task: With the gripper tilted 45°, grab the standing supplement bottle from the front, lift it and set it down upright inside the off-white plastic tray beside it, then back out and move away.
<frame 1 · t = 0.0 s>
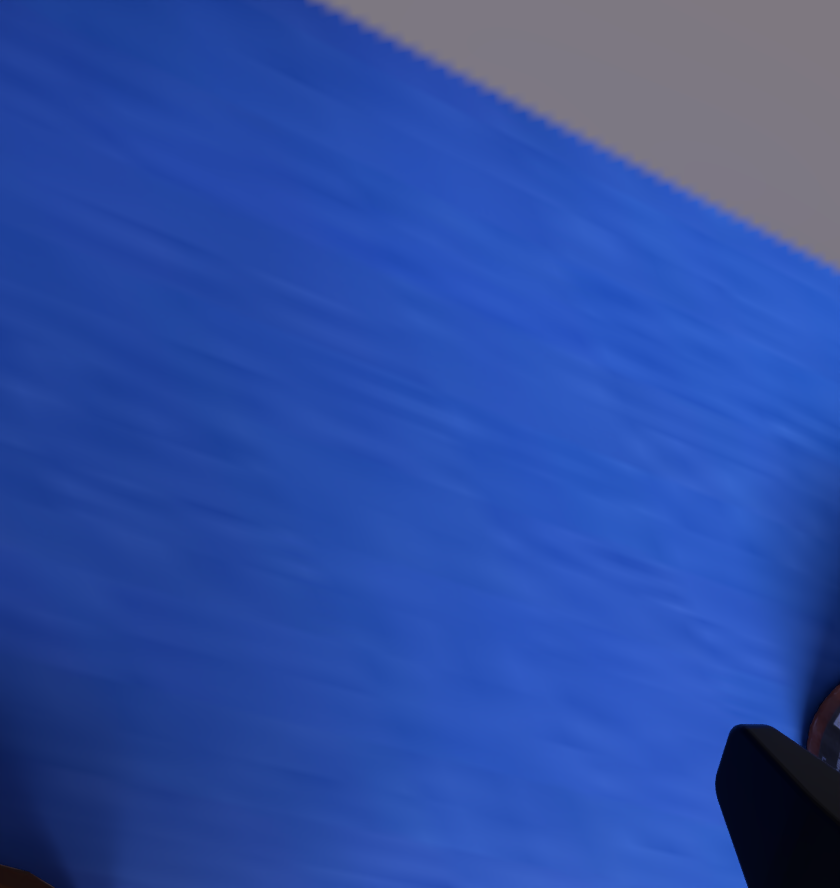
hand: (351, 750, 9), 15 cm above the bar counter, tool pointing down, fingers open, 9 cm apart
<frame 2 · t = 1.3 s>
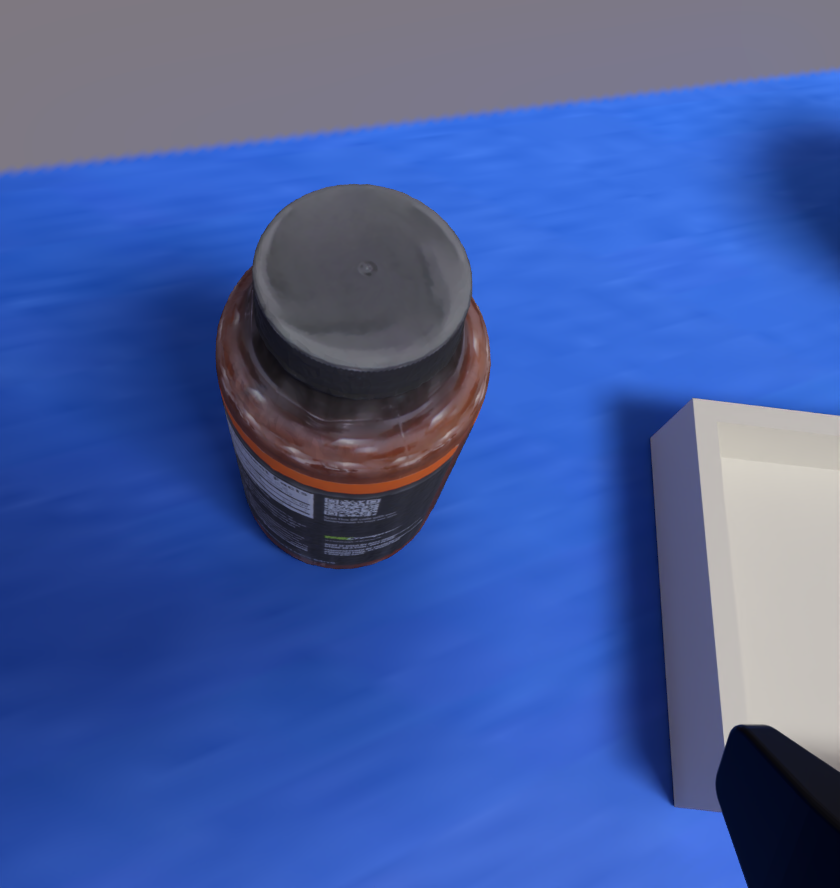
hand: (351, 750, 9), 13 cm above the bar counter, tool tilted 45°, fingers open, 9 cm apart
tray: (831, 620, 24), on the bar counter
supplement bottle: (340, 483, 24), on the bar counter
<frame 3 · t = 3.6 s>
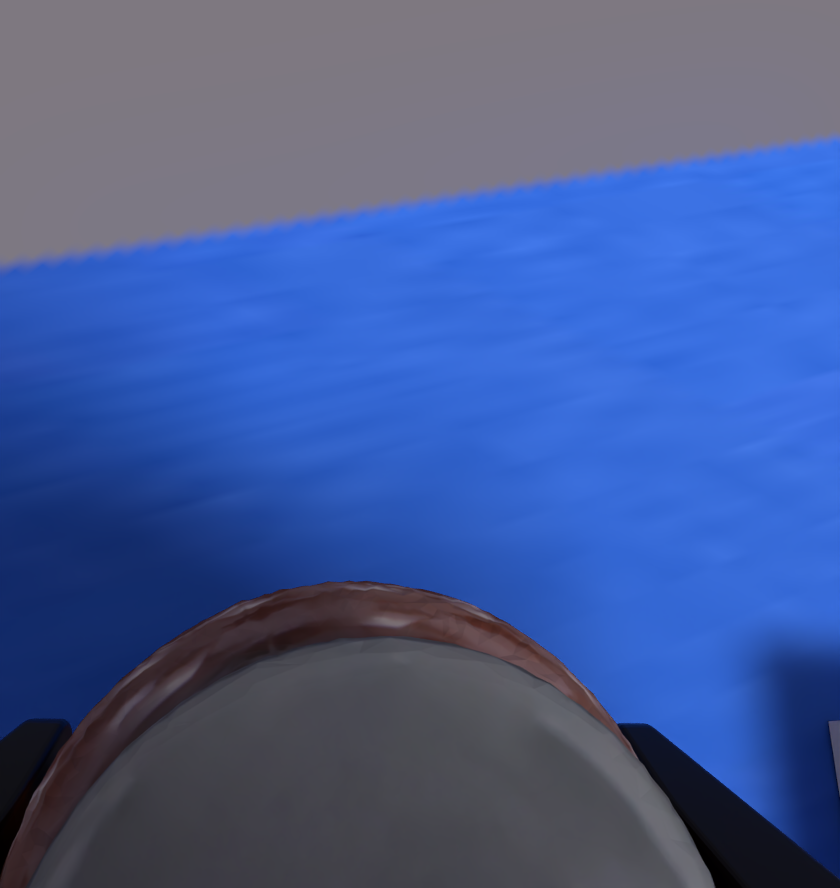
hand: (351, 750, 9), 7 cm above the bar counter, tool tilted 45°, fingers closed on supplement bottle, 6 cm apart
supplement bottle: (328, 840, 14), on the bar counter, touching gripper
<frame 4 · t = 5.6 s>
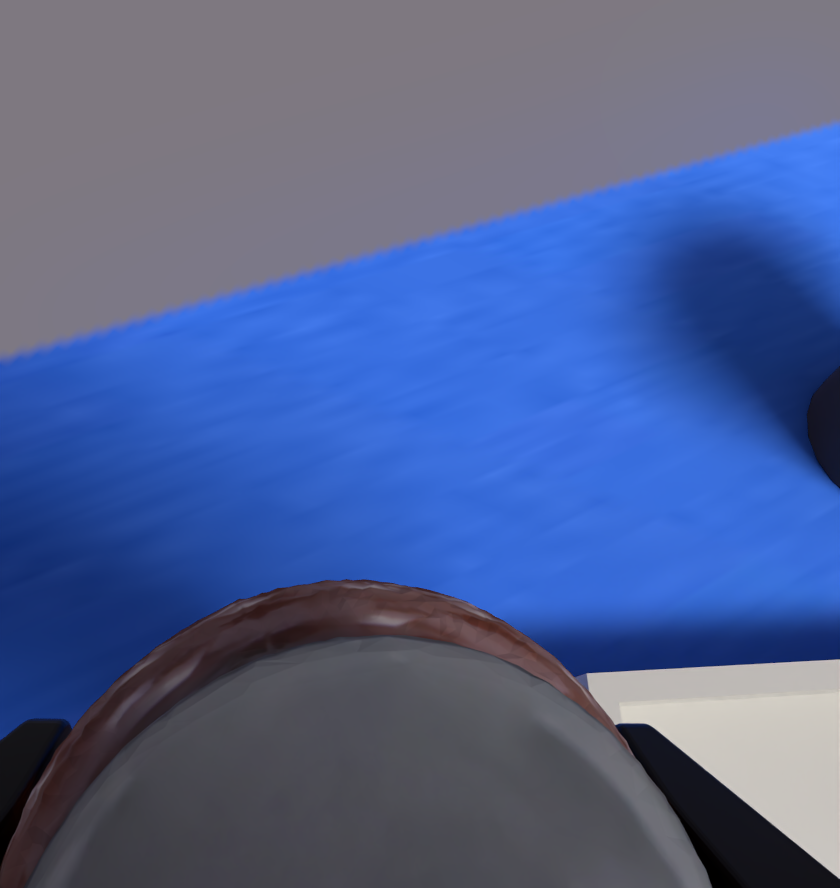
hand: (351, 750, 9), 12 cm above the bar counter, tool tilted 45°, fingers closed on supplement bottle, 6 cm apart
supplement bottle: (325, 838, 14), point 5 cm above the bar counter, touching gripper
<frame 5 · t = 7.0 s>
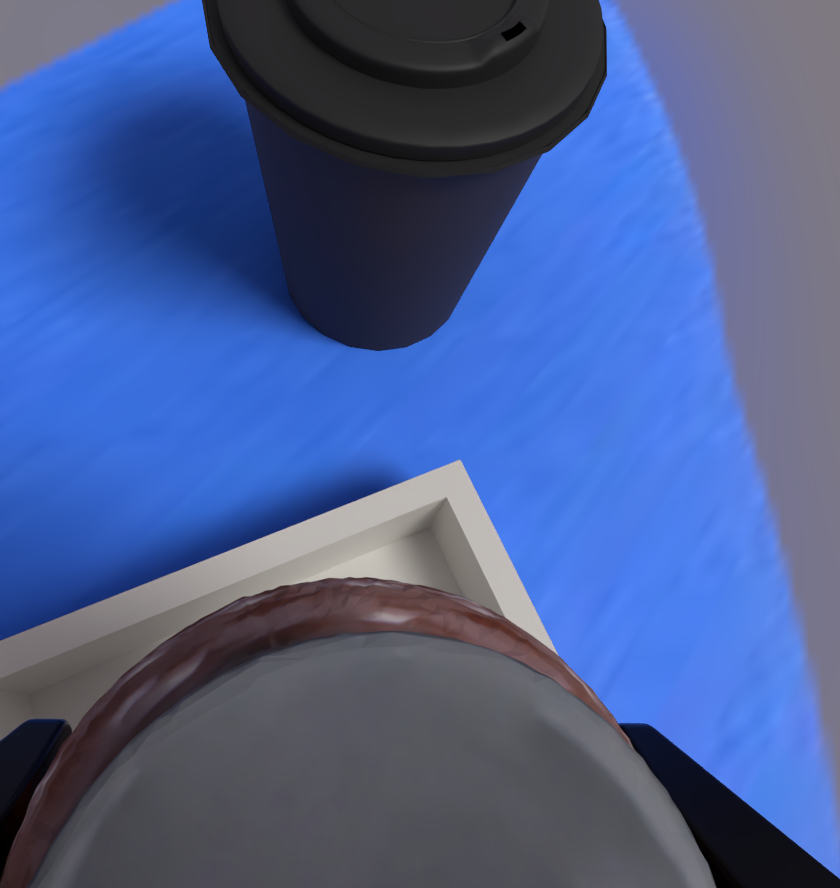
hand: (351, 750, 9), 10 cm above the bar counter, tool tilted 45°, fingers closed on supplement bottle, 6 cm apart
tray: (322, 811, 18), on the bar counter
supplement bottle: (327, 836, 14), point 3 cm above the bar counter, touching gripper
coffee cup: (373, 277, 23), on the bar counter
when the fingers open (8 cm above the bar counter, at t = 7.8 s): supplement bottle drops 1 cm, resting on tray.
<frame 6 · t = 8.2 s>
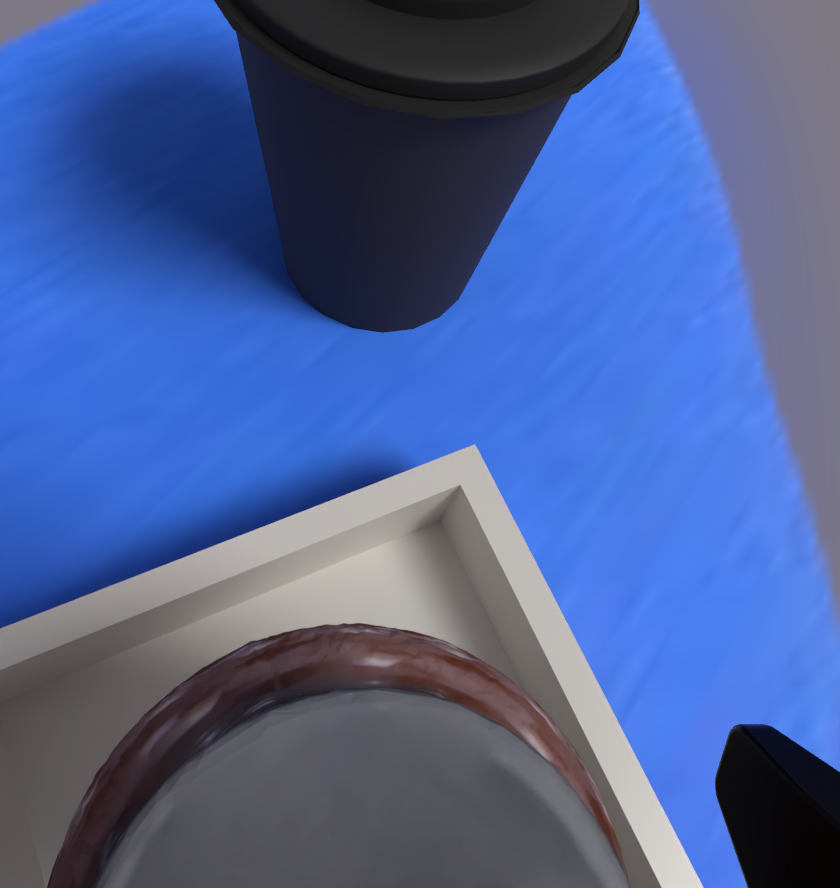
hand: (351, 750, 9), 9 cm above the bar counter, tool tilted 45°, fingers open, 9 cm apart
tray: (324, 832, 16), on the bar counter
supplement bottle: (326, 844, 15), resting on tray
coffee cup: (378, 255, 22), on the bar counter
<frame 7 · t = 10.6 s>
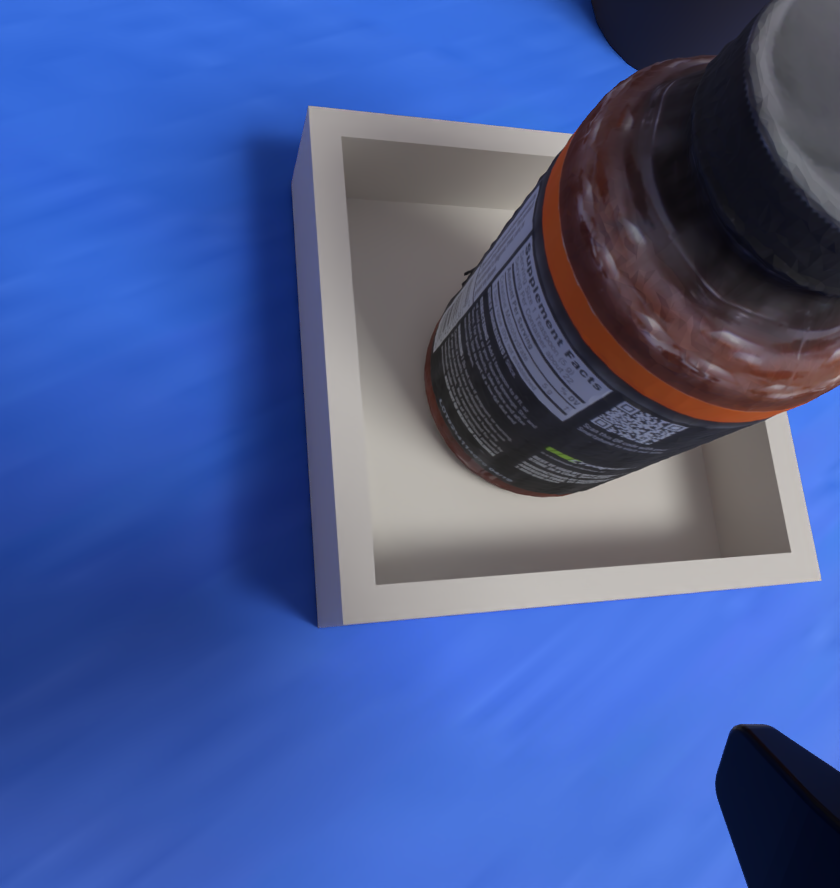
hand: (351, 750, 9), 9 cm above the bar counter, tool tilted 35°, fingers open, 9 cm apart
tray: (517, 389, 20), on the bar counter
supplement bottle: (522, 391, 20), resting on tray
coffee cup: (659, 21, 26), on the bar counter
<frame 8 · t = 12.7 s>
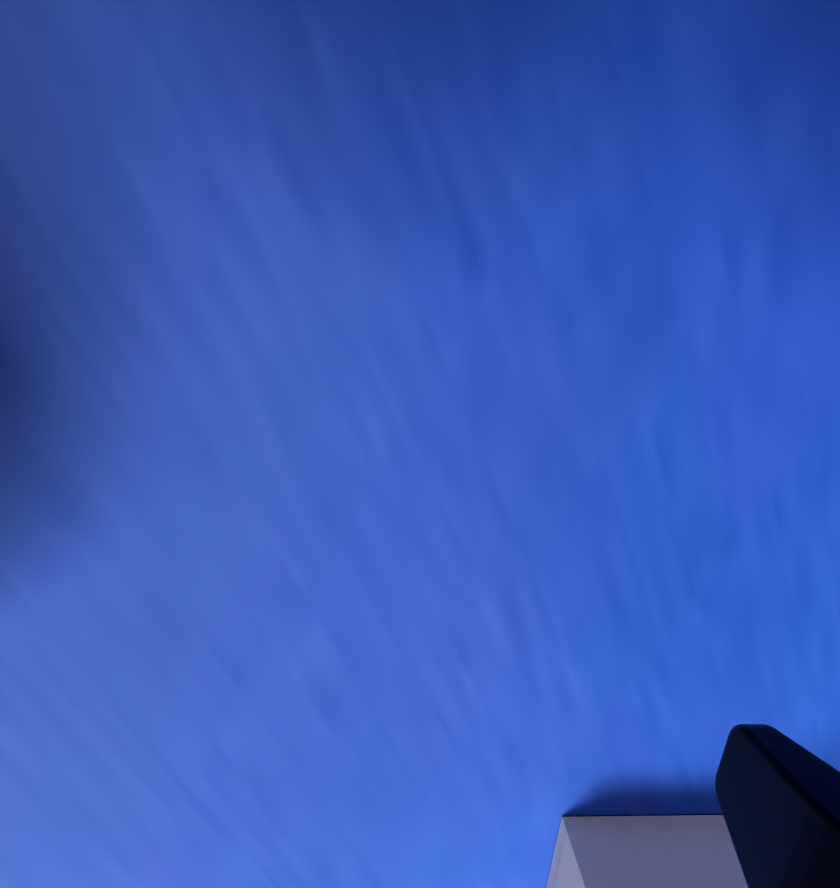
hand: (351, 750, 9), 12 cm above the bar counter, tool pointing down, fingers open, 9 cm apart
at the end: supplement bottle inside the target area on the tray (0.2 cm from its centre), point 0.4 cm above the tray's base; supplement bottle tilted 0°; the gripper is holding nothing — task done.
